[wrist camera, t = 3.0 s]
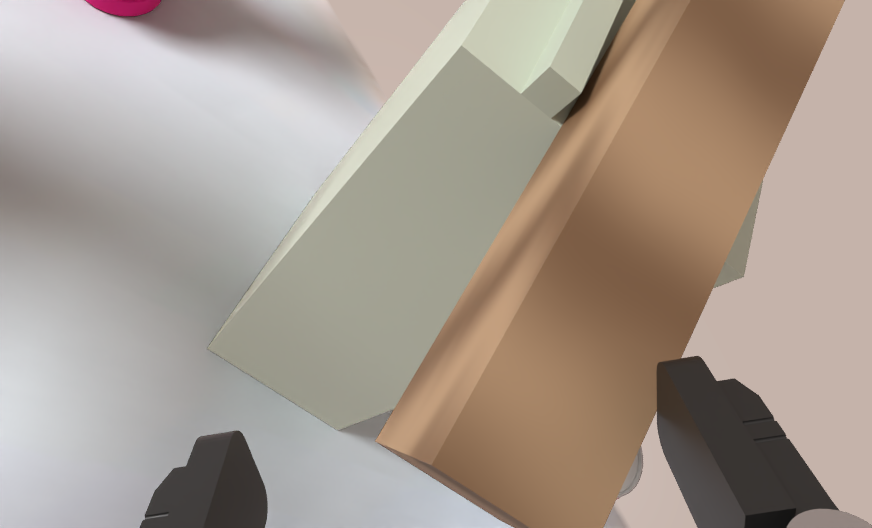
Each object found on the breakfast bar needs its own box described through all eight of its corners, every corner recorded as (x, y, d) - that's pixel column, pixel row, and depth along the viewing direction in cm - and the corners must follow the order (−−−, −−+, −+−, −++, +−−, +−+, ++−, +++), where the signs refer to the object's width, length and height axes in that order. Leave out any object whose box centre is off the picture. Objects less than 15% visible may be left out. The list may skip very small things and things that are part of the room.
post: (337, 430, 45) (782, 262, 18) (206, 348, 43) (487, 14, 16) (422, 270, 52) (827, -20, 25) (315, 193, 50) (632, -215, 23)
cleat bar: (500, 520, 15) (586, 564, 12) (375, 441, 15) (431, 464, 11) (830, -127, 22) (940, -210, 19) (757, -205, 22) (859, -304, 18)
